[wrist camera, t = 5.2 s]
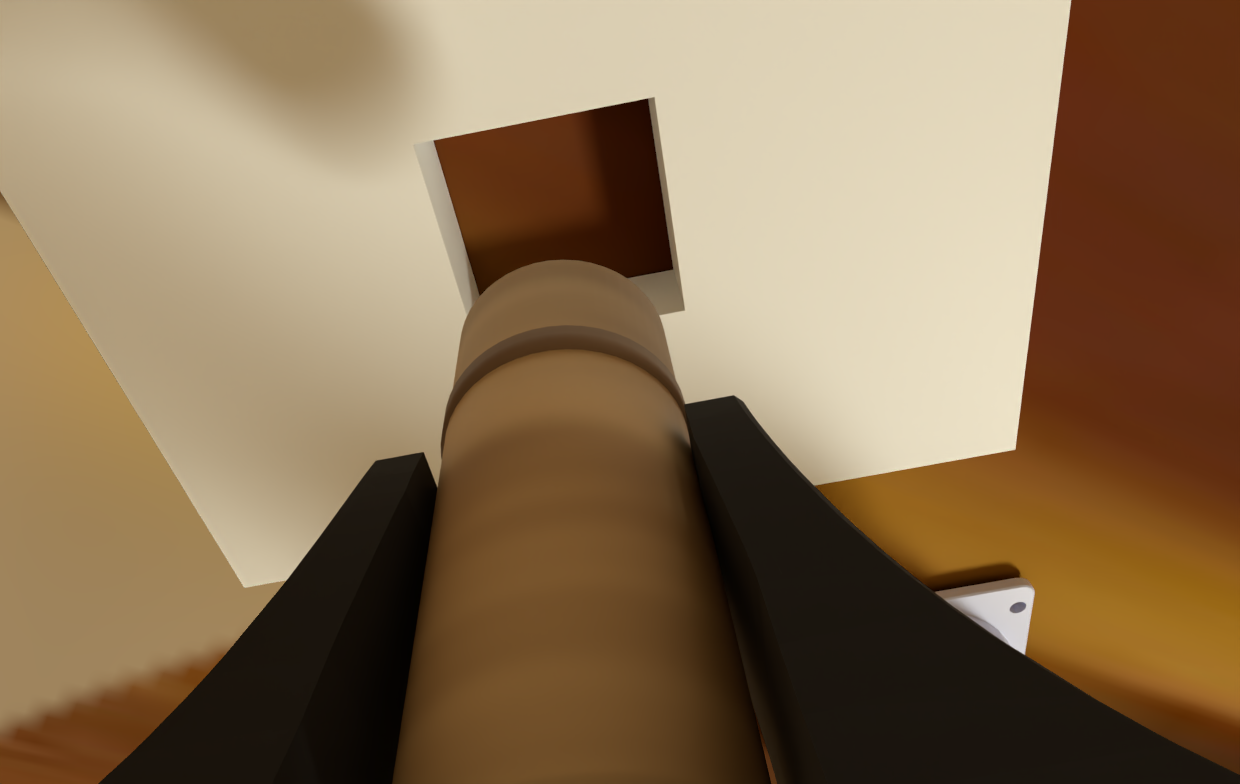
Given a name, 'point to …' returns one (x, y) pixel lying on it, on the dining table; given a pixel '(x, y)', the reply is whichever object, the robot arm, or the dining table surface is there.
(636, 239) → the dining table surface
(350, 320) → the board
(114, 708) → the dining table surface
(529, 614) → the peg
